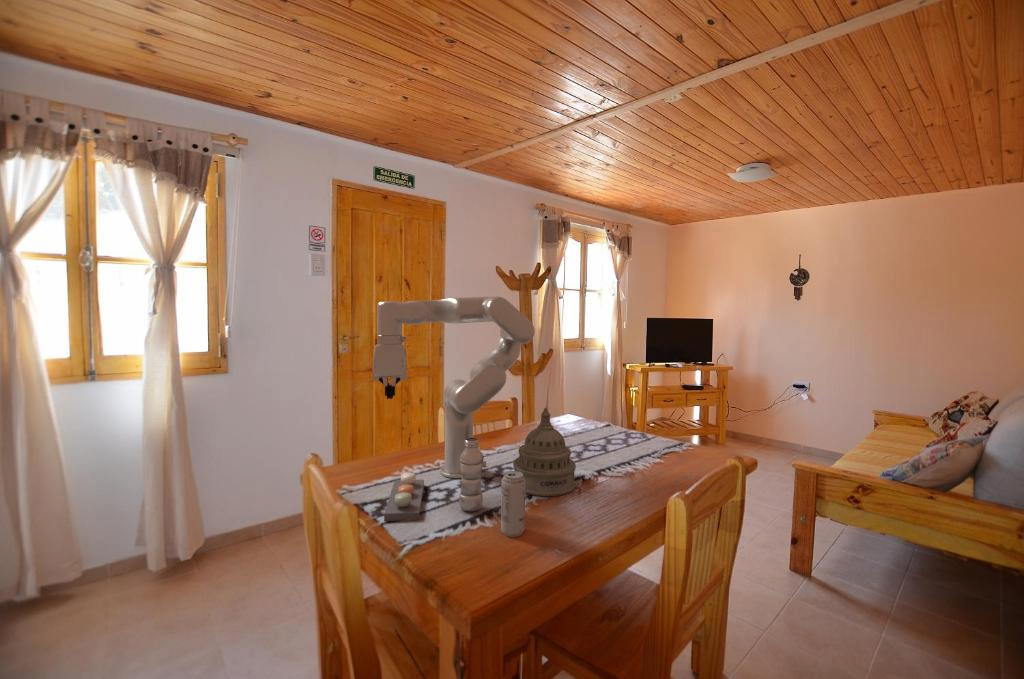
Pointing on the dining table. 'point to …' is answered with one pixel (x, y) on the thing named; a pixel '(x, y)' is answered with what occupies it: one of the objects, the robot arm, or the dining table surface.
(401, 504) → the key sage
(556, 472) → the dome
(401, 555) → the dining table surface
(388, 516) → the button board
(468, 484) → the plastic bottle
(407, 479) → the key cream
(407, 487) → the key terracotta
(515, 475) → the energy drink can
